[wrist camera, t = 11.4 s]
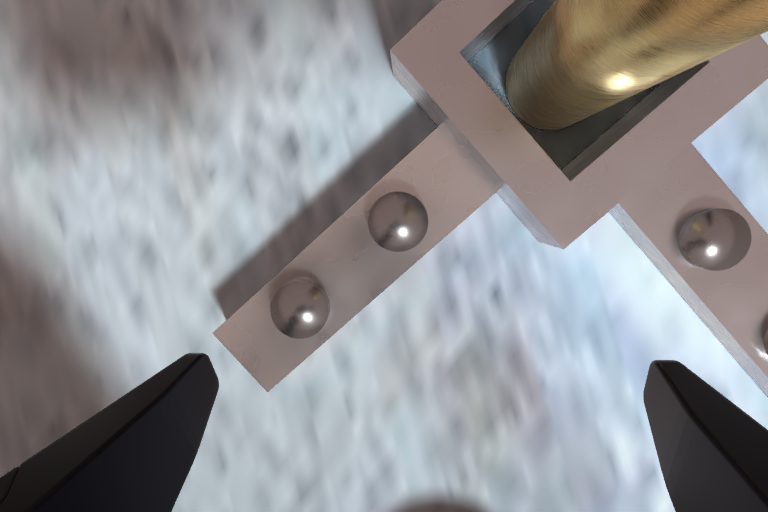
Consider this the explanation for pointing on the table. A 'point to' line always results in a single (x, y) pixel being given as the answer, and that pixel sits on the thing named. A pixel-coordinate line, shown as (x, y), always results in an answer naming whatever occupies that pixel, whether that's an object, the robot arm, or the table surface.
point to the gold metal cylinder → (618, 51)
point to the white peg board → (529, 197)
